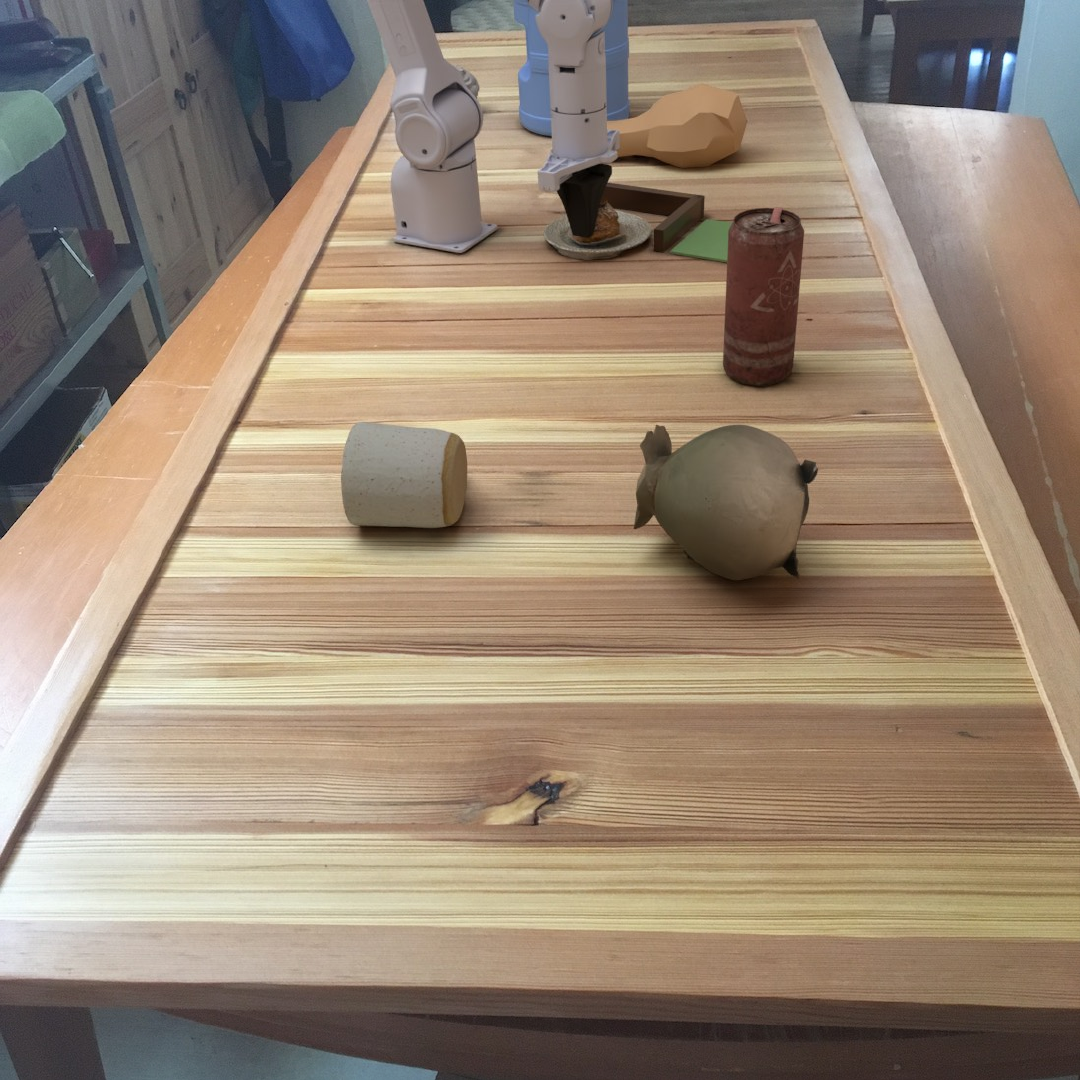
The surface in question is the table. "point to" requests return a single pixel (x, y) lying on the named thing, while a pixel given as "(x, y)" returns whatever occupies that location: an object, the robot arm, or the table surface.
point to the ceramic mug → (403, 476)
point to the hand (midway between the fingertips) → (582, 234)
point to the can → (762, 295)
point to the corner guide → (659, 209)
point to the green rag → (706, 242)
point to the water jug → (537, 69)
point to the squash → (685, 128)
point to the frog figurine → (469, 80)
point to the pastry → (599, 234)
